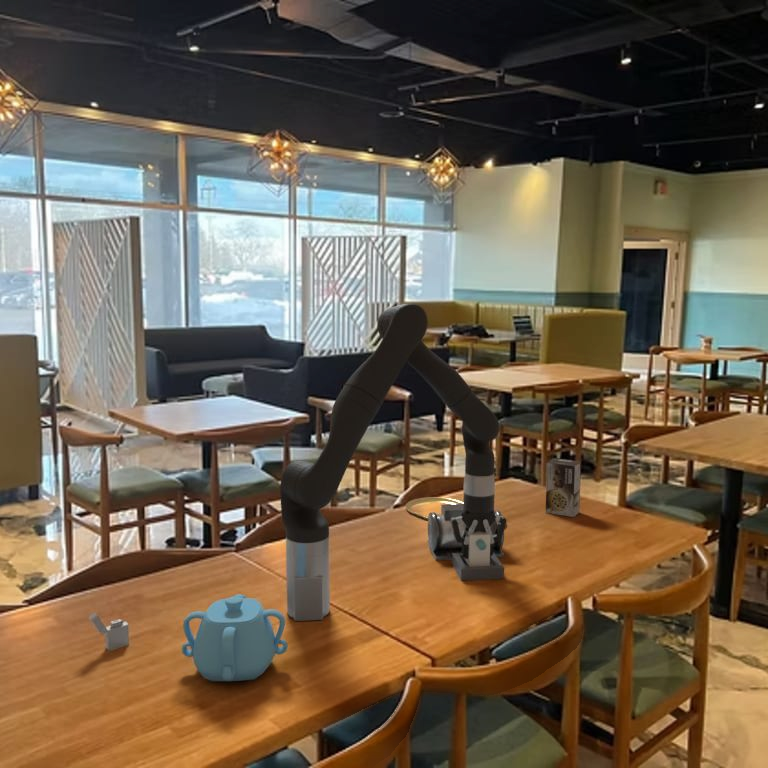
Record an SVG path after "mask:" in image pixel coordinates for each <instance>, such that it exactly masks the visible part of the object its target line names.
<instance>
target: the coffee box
mask: <svg viewBox="0 0 768 768" xmlns="http://www.w3.org/2000/svg"><path fill="white" fill-rule="evenodd" d="M581 472H582V461H579V460H572V459H566V458H565V459H564V458H563V459H562V458H555V457H554V458H551V459H550V460H549V461H547V462H546V475H545V476H546V477H545V478H546V481H545V482H546V485H545V486H546V488H545V513H547V514H553V515H559V516H563V517H564V516H565V517H569V518H570V517H571V518H574V517H576V515H578V514H579V513H580V508H581V507H580V501H581V500H580V499H581Z"/></svg>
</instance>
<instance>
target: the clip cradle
mask: <svg viewBox="0 0 768 768" xmlns="http://www.w3.org/2000/svg"><path fill="white" fill-rule="evenodd" d="M451 564H452V566H453V569H454V571H455V572H456V573H457V576H458V578H459V579H460V581H461V582H462V581H481V580H504V579H505V566H504V565H503V564H502V562H501V561H500V560H499V558H497V557H496V555H495V554H494V552H493V555H492V556H491V558H490V566H473V567H469V565H468V563H467V562H466V560H465V557H464V556H463V554H462V553H452V560H451Z"/></svg>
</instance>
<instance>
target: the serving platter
mask: <svg viewBox="0 0 768 768" xmlns="http://www.w3.org/2000/svg"><path fill="white" fill-rule="evenodd" d="M424 503H444V504H463V501H460V500H458V499H454V498H450V497H439V496H438V497H437V496H432V497H431V496H428V497H420V498H414V499H412V500H409V501H407V502H406V504H405V508H406V510H407V511H408V512H409V513H410V514H412V515H414V516H417V517H418V518H421V519H424V520H427V521H428V516H425V515H423V514H419V513H417V512H414V511H413V510H412V507H414V506H416V505H418V504H424Z"/></svg>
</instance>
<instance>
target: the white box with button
mask: <svg viewBox="0 0 768 768" xmlns="http://www.w3.org/2000/svg"><path fill="white" fill-rule="evenodd" d="M468 545H469V557H468V559H466V558H465V560H466V562H467V563H468V565H469V567H473V566H490V534H487V533H486V531H485V532H481V531H478V532H473V534H470V536H469V543H468Z"/></svg>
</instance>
